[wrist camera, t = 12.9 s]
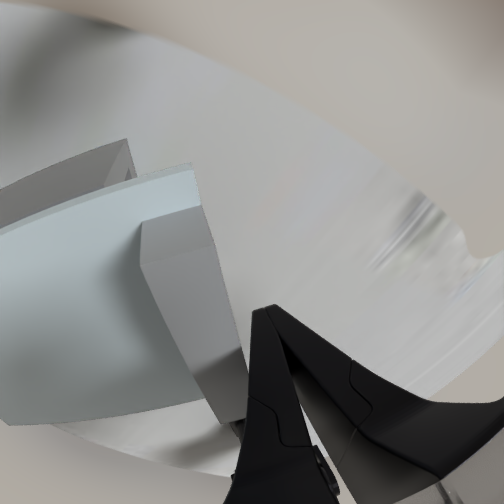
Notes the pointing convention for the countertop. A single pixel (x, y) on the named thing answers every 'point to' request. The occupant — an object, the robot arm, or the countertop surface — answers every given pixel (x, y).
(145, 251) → the lid
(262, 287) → the countertop surface
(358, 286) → the countertop surface
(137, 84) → the countertop surface
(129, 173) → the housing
